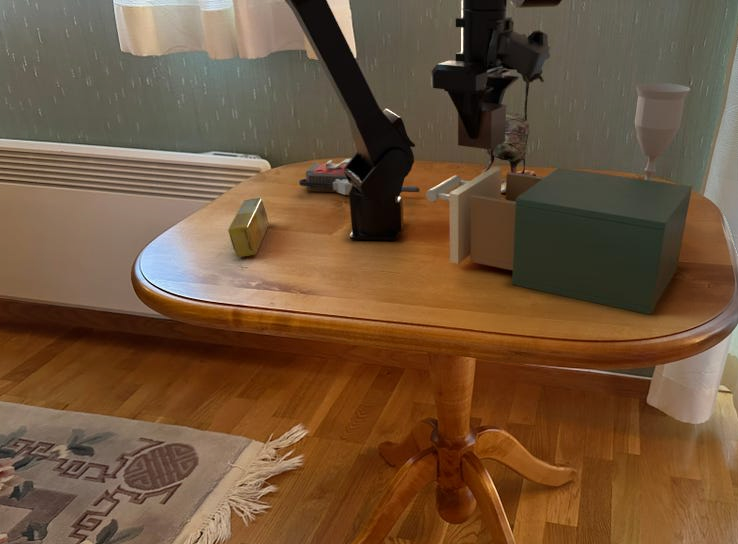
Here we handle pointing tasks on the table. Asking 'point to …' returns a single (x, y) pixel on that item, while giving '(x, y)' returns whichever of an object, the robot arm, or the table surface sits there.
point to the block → (486, 128)
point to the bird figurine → (514, 138)
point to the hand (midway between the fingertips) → (481, 134)
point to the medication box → (248, 227)
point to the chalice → (658, 118)
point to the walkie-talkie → (333, 179)
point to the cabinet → (599, 237)
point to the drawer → (483, 216)
